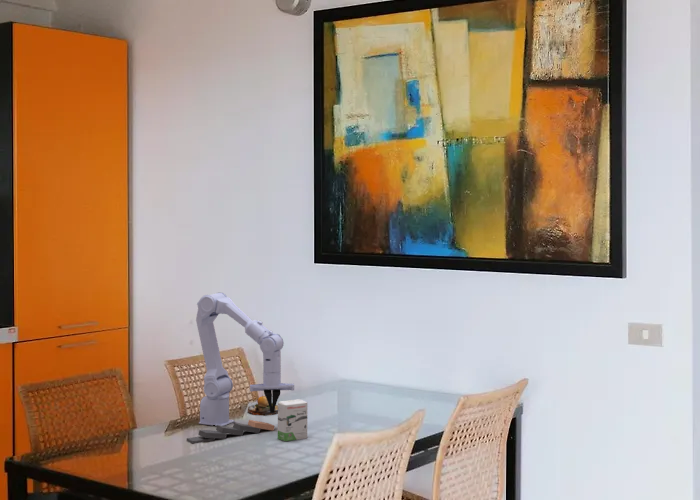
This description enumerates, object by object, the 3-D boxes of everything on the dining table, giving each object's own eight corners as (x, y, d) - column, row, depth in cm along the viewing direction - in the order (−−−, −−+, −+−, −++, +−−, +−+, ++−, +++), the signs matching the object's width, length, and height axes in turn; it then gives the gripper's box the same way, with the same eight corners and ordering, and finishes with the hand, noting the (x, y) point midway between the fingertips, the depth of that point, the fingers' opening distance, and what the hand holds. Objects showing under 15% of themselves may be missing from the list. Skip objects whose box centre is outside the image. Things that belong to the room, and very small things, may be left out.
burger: (287, 411, 338) (287, 390, 337) (267, 417, 328) (267, 396, 327) (261, 407, 344) (261, 387, 344) (240, 413, 334) (240, 392, 334)
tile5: (214, 443, 296) (192, 446, 292) (208, 439, 300) (186, 443, 296) (214, 438, 296) (192, 441, 292) (208, 435, 300) (186, 438, 295)
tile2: (258, 433, 305) (239, 430, 301) (252, 430, 309) (232, 427, 305) (260, 428, 305) (240, 425, 301) (253, 425, 309) (234, 422, 305)
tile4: (225, 438, 298) (205, 437, 293) (218, 435, 301) (198, 434, 297) (226, 433, 298) (206, 432, 293) (219, 430, 301) (199, 429, 297)
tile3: (242, 435, 302) (222, 432, 298) (236, 432, 306) (216, 430, 301) (243, 430, 302) (223, 427, 298) (237, 428, 306) (217, 425, 302)
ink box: (284, 441, 294) (284, 404, 294) (276, 438, 299) (276, 401, 298) (308, 438, 299) (308, 401, 299) (300, 434, 303) (300, 398, 303)
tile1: (273, 430, 308) (254, 427, 304) (267, 427, 312) (247, 424, 308) (274, 425, 309) (255, 422, 305) (268, 423, 312) (248, 419, 308)
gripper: (293, 368, 314) (293, 408, 315) (249, 369, 312) (249, 410, 313) (294, 372, 307) (294, 413, 308) (250, 373, 305) (250, 415, 306)
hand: (272, 412), depth 310 cm, fingers closed
